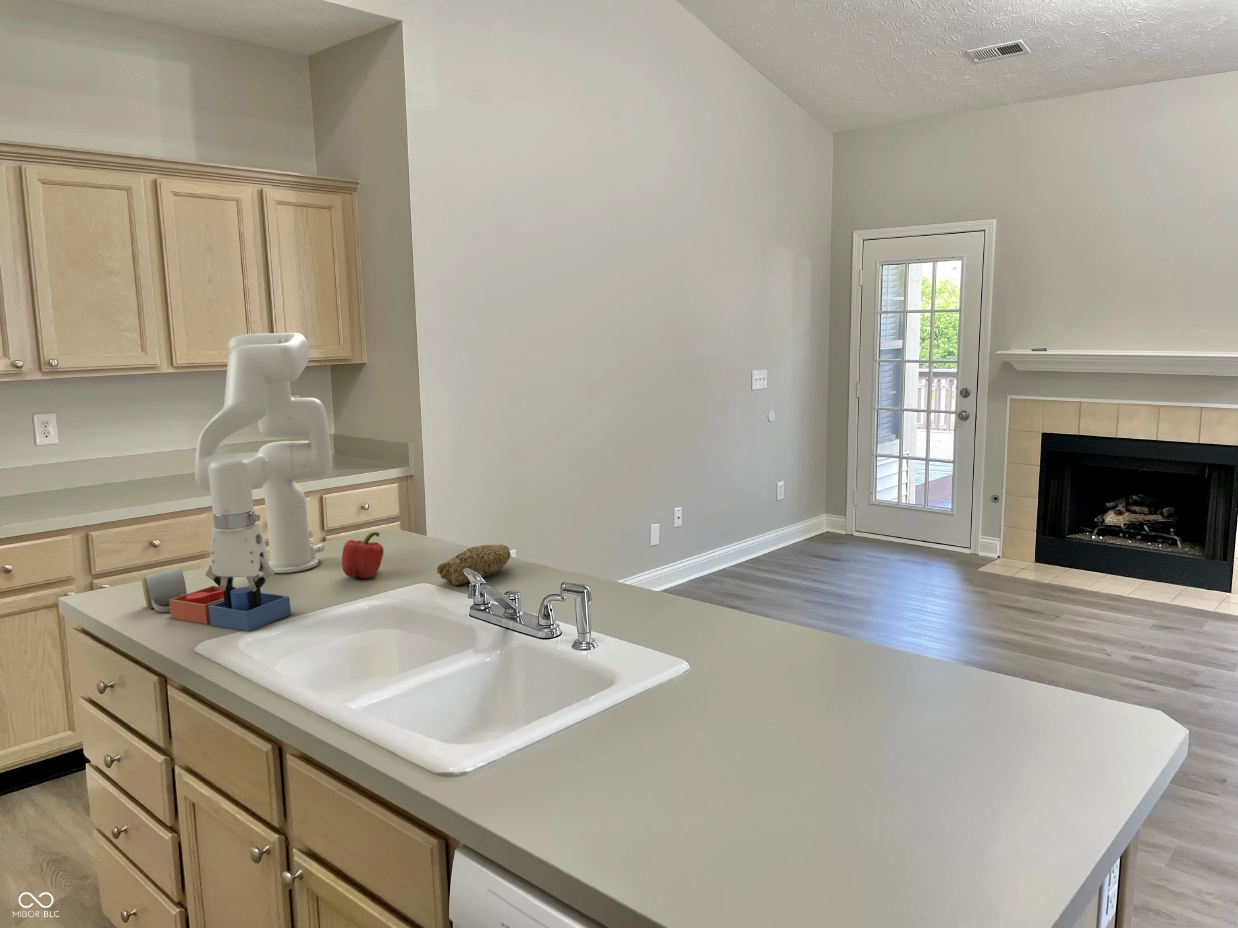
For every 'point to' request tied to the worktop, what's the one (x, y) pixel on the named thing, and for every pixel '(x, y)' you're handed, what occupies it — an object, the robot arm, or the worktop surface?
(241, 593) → the blue scoop
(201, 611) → the red bin
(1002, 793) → the worktop surface
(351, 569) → the vegetable
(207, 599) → the red scoop
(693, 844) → the worktop surface
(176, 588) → the ceramic mug
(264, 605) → the blue bin
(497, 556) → the sponge
